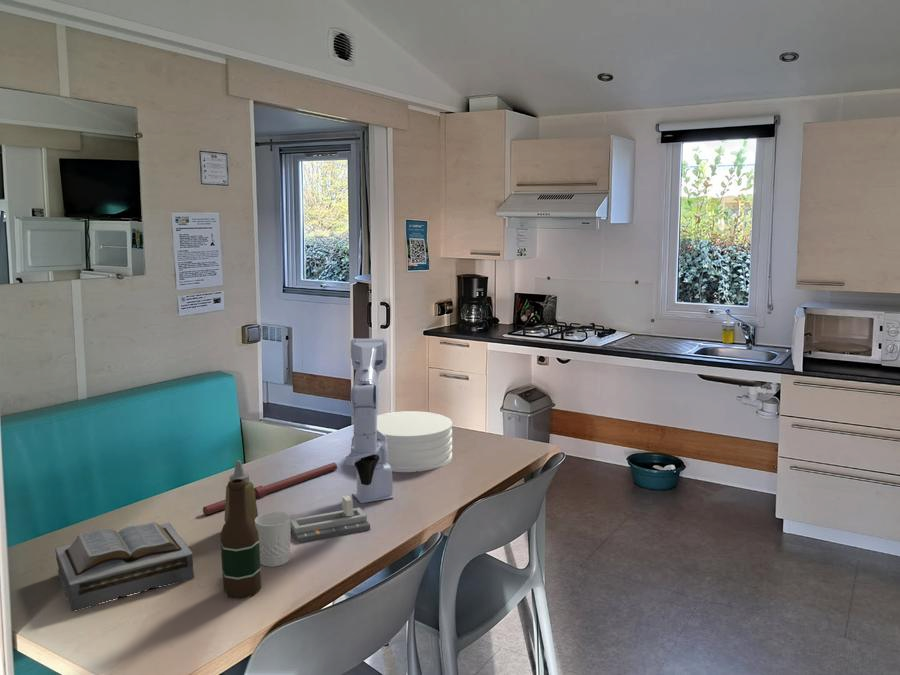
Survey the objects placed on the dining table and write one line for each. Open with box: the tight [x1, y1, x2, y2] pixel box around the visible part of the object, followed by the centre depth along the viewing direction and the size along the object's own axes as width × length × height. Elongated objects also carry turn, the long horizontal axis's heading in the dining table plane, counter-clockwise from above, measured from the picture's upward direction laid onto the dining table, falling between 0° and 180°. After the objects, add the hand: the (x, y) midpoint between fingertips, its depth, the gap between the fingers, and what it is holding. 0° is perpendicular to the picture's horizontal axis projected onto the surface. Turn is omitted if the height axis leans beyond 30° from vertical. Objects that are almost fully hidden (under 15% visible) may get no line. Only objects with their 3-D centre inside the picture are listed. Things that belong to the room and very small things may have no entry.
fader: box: [341, 495, 355, 518], centre depth 189 cm, size 3×4×6 cm
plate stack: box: [377, 410, 453, 473], centre depth 240 cm, size 28×28×12 cm
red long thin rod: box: [202, 462, 338, 516], centre depth 212 cm, size 45×3×3 cm, turn 140°
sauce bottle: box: [220, 479, 262, 600], centre depth 155 cm, size 8×8×24 cm
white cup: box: [255, 511, 292, 568], centre depth 170 cm, size 8×8×10 cm
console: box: [291, 507, 371, 543], centre depth 188 cm, size 18×11×3 cm, turn 115°
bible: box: [54, 521, 195, 612], centre depth 162 cm, size 23×27×10 cm
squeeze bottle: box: [224, 460, 259, 524], centre depth 184 cm, size 8×8×18 cm
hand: (366, 484), depth 190 cm, fingers closed
